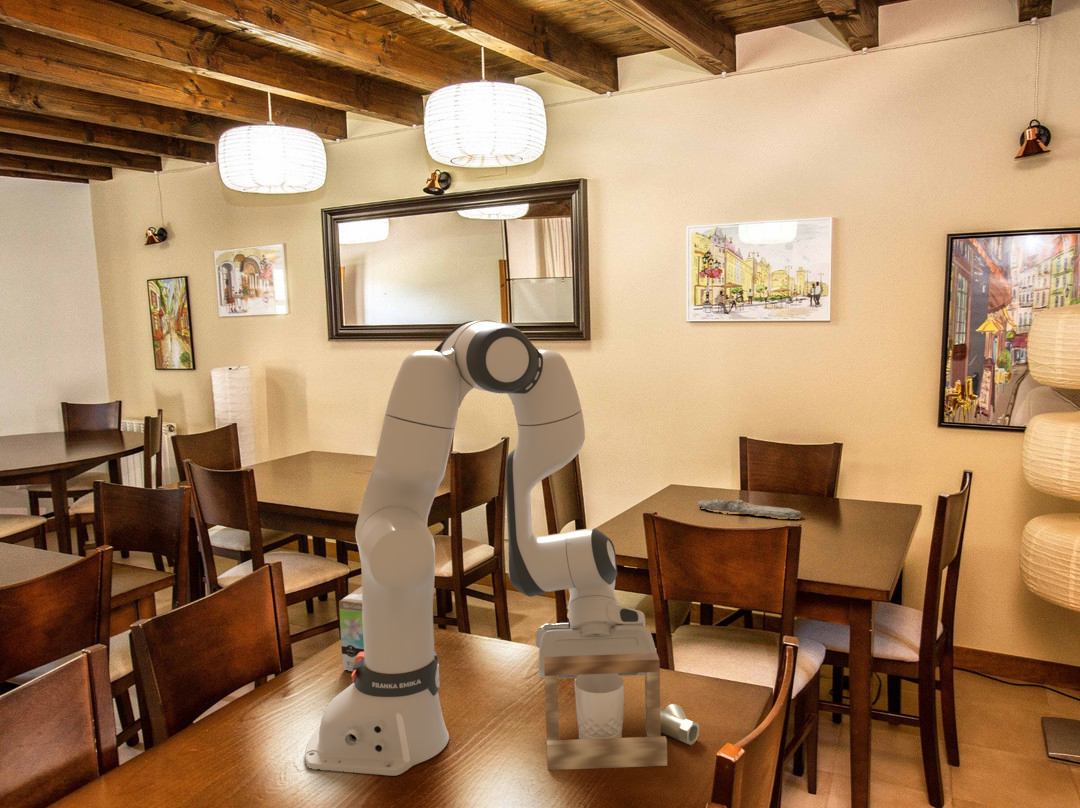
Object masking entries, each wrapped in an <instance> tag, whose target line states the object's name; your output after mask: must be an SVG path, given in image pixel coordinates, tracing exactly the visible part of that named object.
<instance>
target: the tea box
mask: <svg viewBox="0 0 1080 808" xmlns="http://www.w3.org/2000/svg"><path fill="white" fill-rule="evenodd" d="M338 606H339V607H338V608H339V627H340V643H341V644H340V647H341V662H342V664H341V665H342V670H348V671H347V672H353V667H354V665H355V658H356V657H357V655H358V653H359V652H364V640H363V622H362V585H361V586H360V587H358V588H357V589H355V590H353V591H352V592H351V593H350V594H347V595H346V596H345V597H343V598H342V599H341V600H339V601H338Z"/></svg>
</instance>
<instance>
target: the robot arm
mask: <svg viewBox="0 0 1080 808" xmlns="http://www.w3.org/2000/svg"><path fill="white" fill-rule="evenodd" d="M473 389H476V390H480V391H485V392H490V393H494V394H507V395H508V397H509V399H510V401H511V404H512V405H513V410H514V415H515V419H516V420H515V421H516V426H517V429H518V430H517V431H518V433H517V442H516V447H515V449H513V450H512V451H510V453H508V456H507V459H506V465H505V498H506V499H505V500H506V504H505V505H506V517H507V518H506V519H507V520H506V522H507V536H508V537H507V538H508V540H507V541H508V555H507V556H508V557H507V573H508V578H509V580H510V584H511V585H512V586H513V588H515V590H517V591H518V592H520V593H521V594H523V595H525V596H527V597H530V598H531V597H536V596H540V595H544V594H548V593H549V592H555V591H562V590H563V591H564V590H568V592H569V600H568V605H567V606H568V607H567V609H568V610H567V611H568V622H559V623H544V624H543V625H541V626H540V627H538V629H536V631H535V644H536V647H537V648H538V666H537V667H538V671H537V672H538V675H539V676H540V677H541V678H542V679H544V680H545V671H544V657H559V656H587V655H616V654H645V653H657V649H656V645H655V642H654V638H653V635H652V632H651V631H650V630H649V629H648V628H647V627H646V615H645V613H644V612H642V611H641V610H638V609H632V608H629V607H626V606H623V605H619V604H618V599H617V598H616V595H615V594H616V593H615V586H616V577H618V567H617V556H616V549H615V545H614V543H613V541H612V540H611V539H610V537H608V536H607V535H606V534H605V533H603V532H602V531H600V530H599V529H597V528H584V529H583V528H582V529H576V530H571V531H567V532H566V531H565V532H562V533H561V532H560V533H553V534H547V535H537V534H535V533H534V532H533V519H532V518H533V517H532V497H531V496H532V495H531V493H532V491H533V488H534V487H535V486H536V485H538V484H539V483H540V482H541V481H543V480H544V479H545V478H547V477H549V476H551V475H552V474H554V473H556V472H558V471H559V470H561V469H563V468H564V467H566V465H567V466H568V464H569V463H571V461H573V459H575V458H576V456H577V455H578V454H579V453H580V451H581V449H582V448H583V445H584V442H585V439H586V430H585V429H586V428H585V421H584V414H583V410H582V405H581V401H580V397H579V394H578V390H577V387H576V385H575V381H574V379H573V376H572V374H571V370H570V368H569V366H568V363H567V362H566V359H565V358H564V357H563V356H562V355H561V353H559V352H557V351H555V350H551V349H550V350H549V349H537V347H535V345H534V344H533V343H532V341H531V340H530V339H529V338H528V336H527V335H526V334H525V333H523V332H522V331H521V330H520V329H518V328H516V326H513V325H511V324H508V323H503V322H498V321H494V320H490V319H483V320H482V319H481V320H480V319H479V320H468V321H465V322H463V323H461V324H459V325H457V326H456V327H454V328H453V329H452V330H451V331H450V332H449V333H448V334H447V335H446V337H445V338H444V339H443V340H442V341H441V342H440V344H439V345H438V346H437V347H436V348H435V349H434V350H429V349H426V350H418V351H414V352H411V353H410V354H408V355H407V356H406V357H405V358H404V359H403V362H402V363H401V365H400V368H399V370H398V373H397V376H396V378H395V381H394V383H393V385H392V388H391V391H390V394H389V397H388V401H387V406H386V410H385V414H384V417H383V423H382V427H381V432H380V436H379V441H378V446H377V449H376V455H375V458H374V463H373V467H372V469H371V473H370V476H369V478H368V482H367V485H366V489H365V492H364V495H363V499H362V503H361V506H360V510H359V514H358V517H357V522H356V524H355V532H354V533H355V535H354V536H355V541H356V544H357V547H358V548H357V549H358V552H359V558H360V559H359V560H360V566H361V586H362V622H363V640H364V652H359V653H358V655H357V657H356V658H355V665H354V667H353V671H352V673H351V684H350V685H349V686H347V687H346V688H345V689H343V691H340V692H339V693H338V694H337V695H336V696H334V698H333V699H332V700H331V701H330V702H329V704H328V705H327V707H326V708H325V710H324V712H323V714H322V716H321V717H322V718H321V720H320V725H319V727H318V728H317V729H316V730H314V732H313V734H312V735H311V737H310V738H309V739H308V742H307V745H306V748H305V751H304V761H306V762H305V765H306V764H307V765H306V767H307V766H308V767H309V768H308V767H307V768H308V769H310V768H312V769H311V770H317V769H320V770H321V771H329V770H330V771H331V772H343V771H344V773H353V772H354V773H355V774H356V773H357V774H367V775H368V774H369V775H379V776H380V775H381V776H391V777H392V776H396V777H397V776H398V775H401V774H403V773H405V772H406V771H408V770H409V769H411V768H412V767H413V766H416V765H418V764H420V763H423V762H425V761H428V760H430V759H431V758H434V757H435V756H437V755H438V754H440V753H441V752H442V751H443V750H444V749H445V747H446V746H447V744H448V743H449V739H450V735H449V731H448V729H447V727H446V723H445V719H444V717H443V711H442V708H441V702H440V696H439V690H440V689H439V688H440V665H439V659H438V654H437V652H436V651H435V634H434V629H435V628H434V613H433V606H434V605H433V604H434V596H435V595H434V593H435V592H434V591H435V577H436V576H435V574H436V573H435V572H436V570H435V569H436V546H435V545H436V542H435V539H434V536H433V534H432V532H431V531H430V529H429V528H428V518H429V515H430V512H431V508H432V505H433V502H434V499H435V497H436V495H437V491H438V489H439V487H440V484H441V483H442V482H443V480H444V478H445V475H446V470H447V465H448V462H449V457H450V452H451V448H452V443H453V438H454V435H455V428H456V424H457V422H458V421H457V420H458V414H459V408H460V407H461V405H462V402H463V401H464V399H465V397H466V396H467V394H468V393H470V392H471V391H472V390H473ZM616 674H618V675H620V676H621V677H632V676H634V677H636V676H645V672H641V673H616ZM577 676H578V675H557V677H558V679H575V678H576V677H577ZM320 770H319V771H320Z"/></svg>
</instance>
